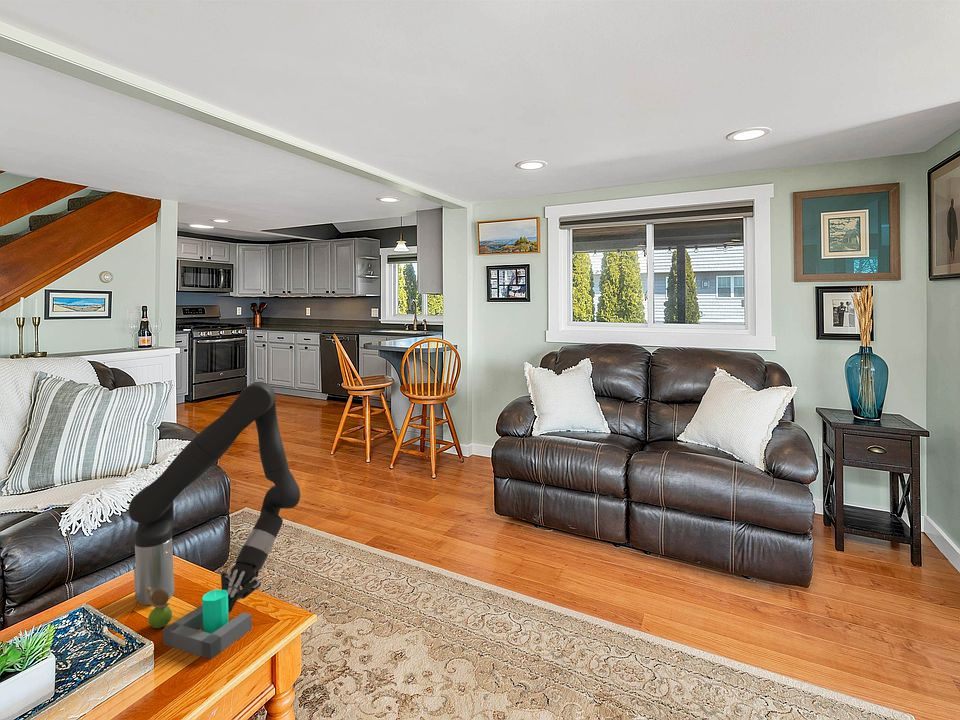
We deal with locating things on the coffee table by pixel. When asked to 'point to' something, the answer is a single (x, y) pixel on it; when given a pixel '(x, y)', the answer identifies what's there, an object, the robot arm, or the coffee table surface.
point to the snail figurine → (158, 607)
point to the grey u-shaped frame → (204, 634)
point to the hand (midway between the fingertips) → (223, 612)
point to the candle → (215, 610)
